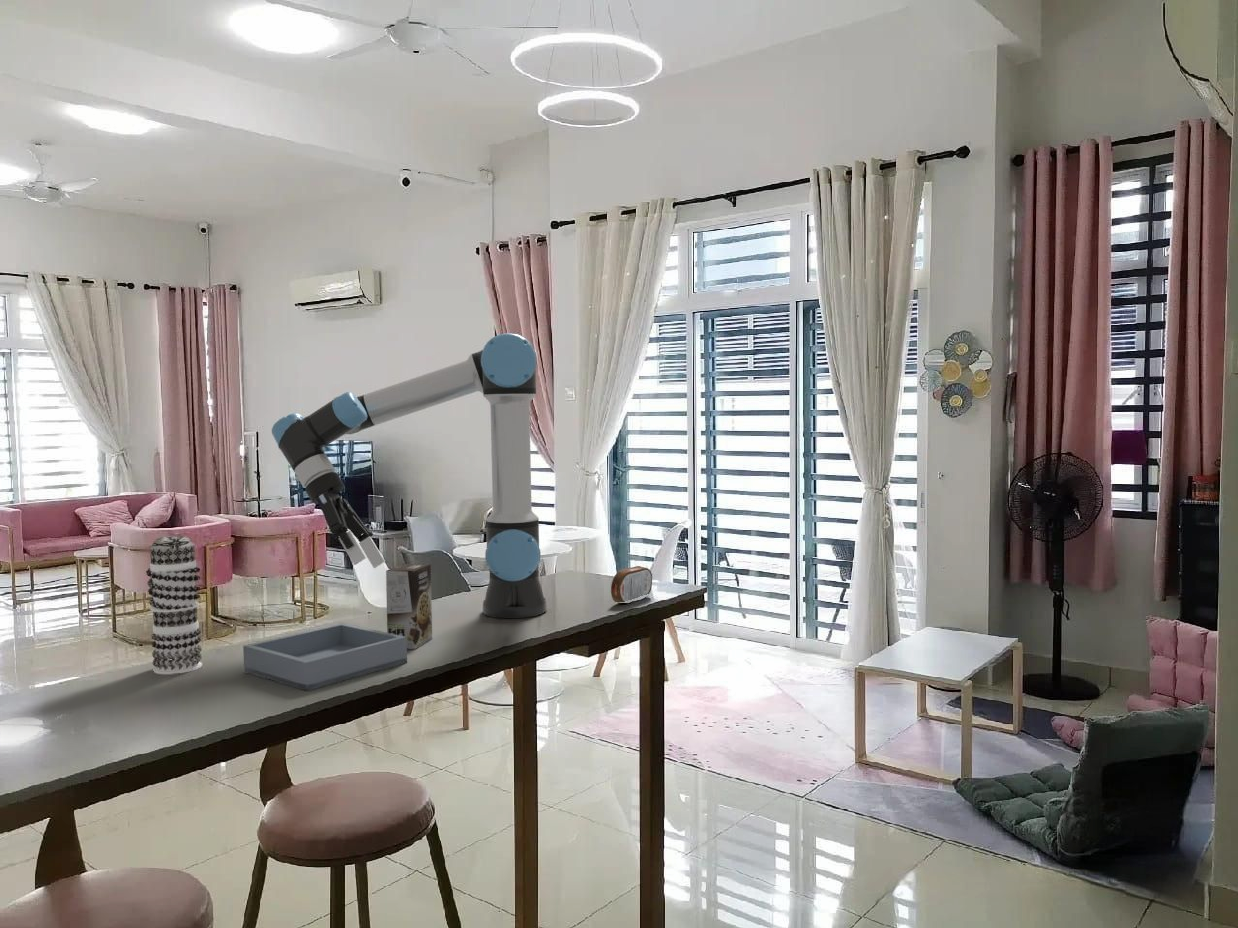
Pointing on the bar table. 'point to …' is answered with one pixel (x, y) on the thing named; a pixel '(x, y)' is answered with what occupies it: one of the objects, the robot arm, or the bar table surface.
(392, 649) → the tray
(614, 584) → the tin
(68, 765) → the bar table surface
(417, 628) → the cookie box
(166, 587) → the decorative candle
